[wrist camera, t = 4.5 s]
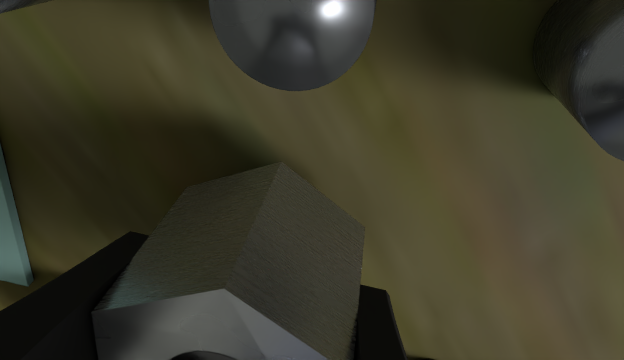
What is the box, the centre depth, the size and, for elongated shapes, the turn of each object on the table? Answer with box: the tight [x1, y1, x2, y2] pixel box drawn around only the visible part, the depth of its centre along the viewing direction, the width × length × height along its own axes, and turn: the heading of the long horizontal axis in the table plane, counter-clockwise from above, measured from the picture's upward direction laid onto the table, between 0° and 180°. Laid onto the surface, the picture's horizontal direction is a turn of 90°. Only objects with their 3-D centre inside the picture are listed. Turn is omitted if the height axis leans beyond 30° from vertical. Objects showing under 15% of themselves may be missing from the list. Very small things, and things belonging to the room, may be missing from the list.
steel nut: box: [91, 162, 365, 360], centre depth 10 cm, size 5×4×4 cm
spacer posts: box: [0, 0, 624, 161], centre depth 11 cm, size 15×15×3 cm
